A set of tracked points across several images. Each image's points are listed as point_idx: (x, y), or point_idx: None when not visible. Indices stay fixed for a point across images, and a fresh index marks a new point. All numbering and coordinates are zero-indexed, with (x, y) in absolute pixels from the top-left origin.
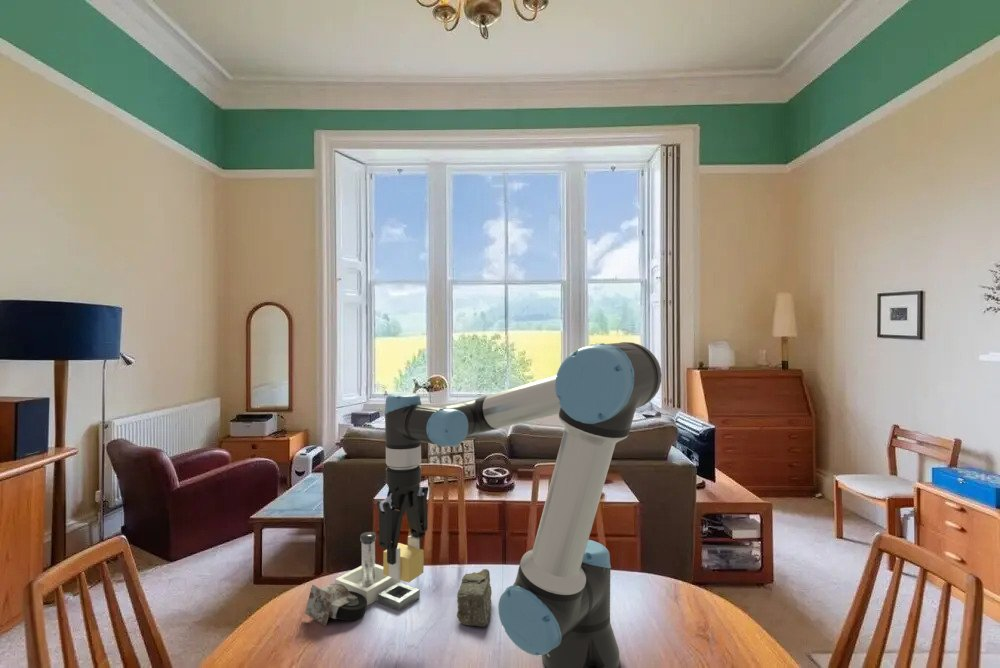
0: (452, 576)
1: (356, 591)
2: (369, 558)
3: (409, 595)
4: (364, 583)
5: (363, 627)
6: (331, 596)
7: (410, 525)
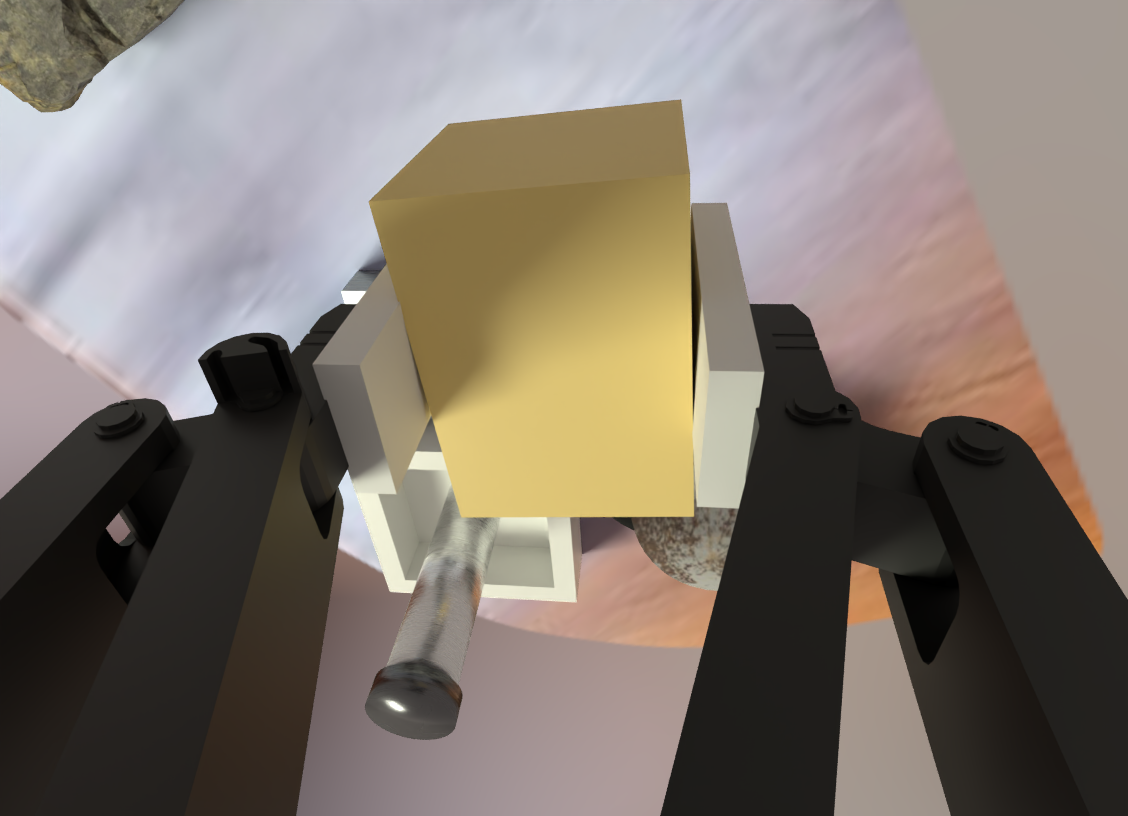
0: (108, 272)
1: None
2: (455, 592)
3: None
4: None
5: None
6: None
7: (318, 591)
